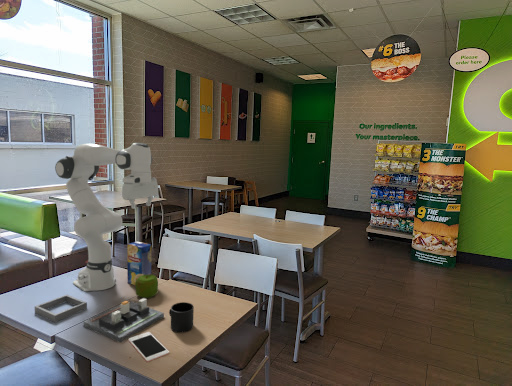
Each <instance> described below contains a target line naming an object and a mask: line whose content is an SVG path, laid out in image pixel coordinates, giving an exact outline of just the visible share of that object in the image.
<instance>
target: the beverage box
mask: <svg viewBox="0 0 512 386" xmlns="http://www.w3.org/2000/svg"><path fill="white" fill-rule="evenodd" d="M126 248H127V259H126V260H127V272H126V273H127V284H129V285H130V284H131V285H133V286H135V282H136V280H137V279H138V278H139V277H140V276H143V275H152V244H150V243H147V242H146V243H145V242H140V241H138V240H137V241H134V242H130V243H127V247H126Z"/></svg>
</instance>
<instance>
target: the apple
mask: <svg viewBox="0 0 512 386" xmlns="http://www.w3.org/2000/svg"><path fill="white" fill-rule="evenodd" d="M134 286H135V294H136V296H138V297H140V298H141V299H143V298H144V299H149V298H153V297H154V296H155V295H157V294H158V290H159V289H158V288H159V280H158V277H157V276H156V275H154V274H151V275H143V276H140V277H139V278H138V279H137V280H136V282H135V285H134Z"/></svg>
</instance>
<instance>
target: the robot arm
mask: <svg viewBox="0 0 512 386" xmlns="http://www.w3.org/2000/svg"><path fill="white" fill-rule="evenodd" d="M153 161H154V159H153V155H152V151H151V148H150V146H149V145H148V144H146V143H143V142H133V143H132V144H131V146H129V147H127V148H123V149H116V148H112V147H109V146H105V145H102V144H96V143H82V144H79V145H77V146H76V147H75V148H74V151H73V155H72V156H70V155H66V156H65V157H63V158H61V159H58V161H57V162H56V163H55V167H54V169H55V174H56V175H57V176H58V177H59V178H60V179H65V180H67V179H68V180H67V182H66V184H65V187H66V189H67V190H66V191H67V193H68V195H69V198H70V199H71V201H72V203H73V204H74V206H75V208H76V209H77V212H79V214H82V215H84V216H83V217H80V218H78V219H77V220H76V221H75V223H74V226H73V227H74V232H75V234H76V235H77V236H78V237H80V238H81V239H83V241H84V242H85V243H86V245H87V246H86V247H87V255H88V259H87V260H86V261H85V264H86V265H85V267H84V268H83V269H81V270H80V271H79V272H78V275H77V279H75V280H73V282H72V285H74V286H76V287H77V288H79V289H80V290H82V291H84V292H90V291H104V290H107V289H111V288H113V287H114V286H115V284H116V281H117V278H116V277H115V272H114V267H113V258H112V246H111V244H110V242H108V241H107V240H104V238H103V235H106V234H109V233H113V232H115V231H117V230H120V229H121V228H122V226H123V217H122V216H121V214H120V213H118V212H116V211H113V210H111V209H109V208H108V207H106V205H104V204H102V202H101V201H100V200H99V198H98V197H97V196H96V194H95V192H94V191H93V189H92V188H91V186H90V185H89V181H93V180H94V177H96V176H97V174H98V173H99V171H100V166H107V165H113V164H114V165H116V167H118V168H119V169H120V170H125V171H126V170H127V171H128V170H129V171H130V170H131V171H130V174H128V175H126V176H125V177H122V182H123V184H122V186H121V187H122V189H121V195H122V196H121V197H122V199H123V200H126V201H128V202H129V203H130V204H129V205H131V209H133V210H135V209H137V204H136V203H135V201H136V199H137V200H138V199H144V198H147V200H146V202H145V206H147V207H150V206H151V205H152V200H153V198H154V197H155V196H158V195H159V186H158V185H159V184H158V179H157V178H156V177H155V176H152V170H151V166H152V164H153Z"/></svg>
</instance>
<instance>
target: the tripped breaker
mask: <svg viewBox="0 0 512 386" xmlns="http://www.w3.org/2000/svg"><path fill="white" fill-rule="evenodd" d="M128 301H129V300H124V301H122V302H120V305H121V313H122V314H125V313H127V312H129V302H128Z"/></svg>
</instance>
